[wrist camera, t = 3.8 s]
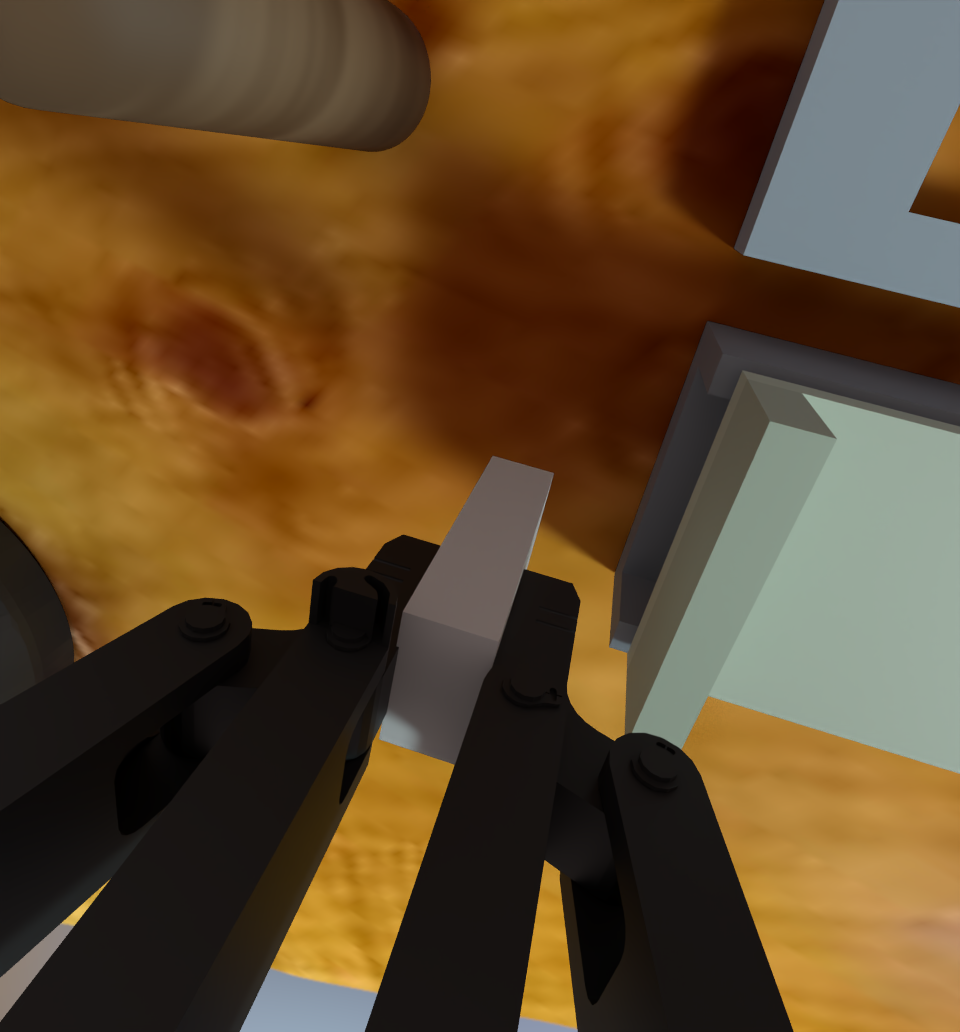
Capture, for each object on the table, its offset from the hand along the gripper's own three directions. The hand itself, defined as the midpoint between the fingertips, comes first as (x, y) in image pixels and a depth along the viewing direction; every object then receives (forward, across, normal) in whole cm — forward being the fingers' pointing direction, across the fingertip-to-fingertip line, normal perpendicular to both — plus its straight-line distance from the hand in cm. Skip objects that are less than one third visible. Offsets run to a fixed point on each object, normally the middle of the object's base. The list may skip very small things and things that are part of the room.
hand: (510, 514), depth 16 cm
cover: (+2, +10, 0) cm, 10 cm away
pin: (+7, -7, +8) cm, 13 cm away
